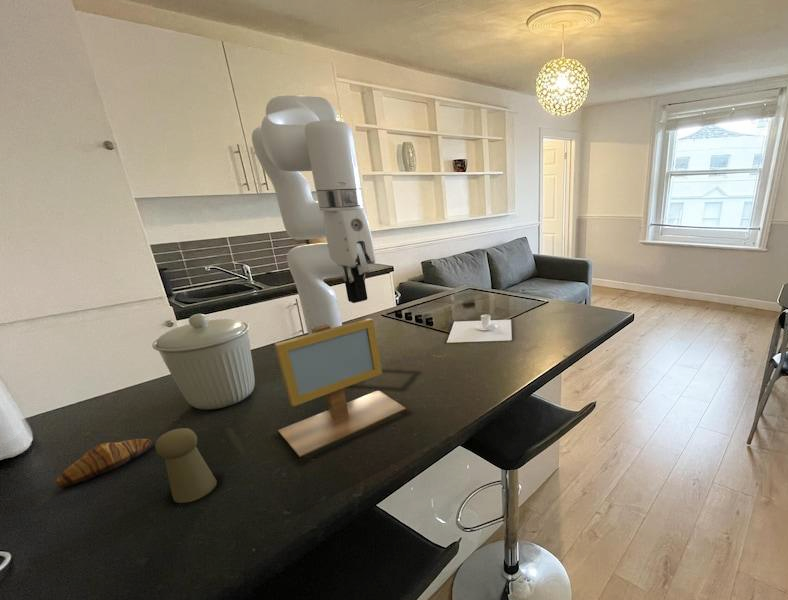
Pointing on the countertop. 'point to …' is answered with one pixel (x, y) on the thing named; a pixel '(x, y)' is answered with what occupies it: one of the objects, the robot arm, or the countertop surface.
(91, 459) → the croissant
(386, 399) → the display stand
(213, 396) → the canister
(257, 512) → the countertop surface
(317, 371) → the picture frame
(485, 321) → the teacup and saucer
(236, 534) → the countertop surface
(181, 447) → the cork
